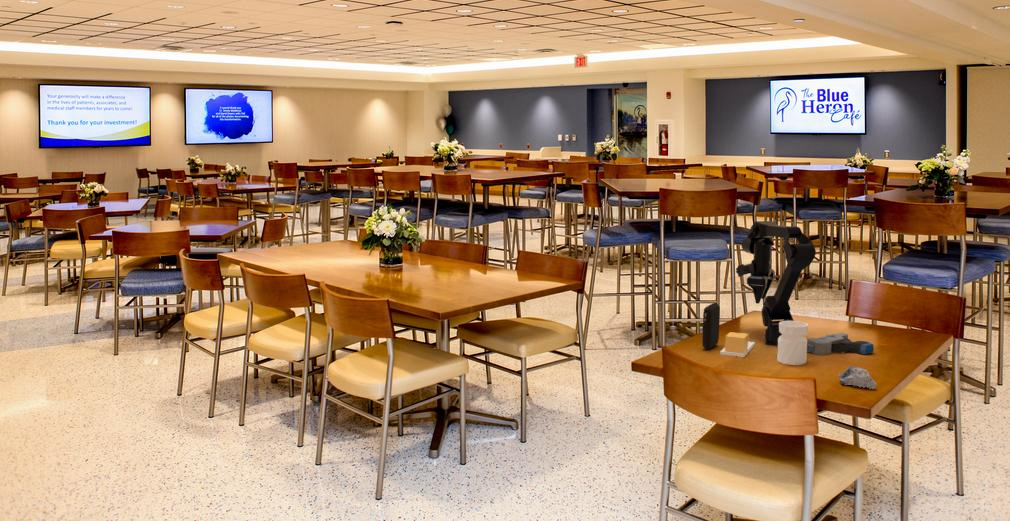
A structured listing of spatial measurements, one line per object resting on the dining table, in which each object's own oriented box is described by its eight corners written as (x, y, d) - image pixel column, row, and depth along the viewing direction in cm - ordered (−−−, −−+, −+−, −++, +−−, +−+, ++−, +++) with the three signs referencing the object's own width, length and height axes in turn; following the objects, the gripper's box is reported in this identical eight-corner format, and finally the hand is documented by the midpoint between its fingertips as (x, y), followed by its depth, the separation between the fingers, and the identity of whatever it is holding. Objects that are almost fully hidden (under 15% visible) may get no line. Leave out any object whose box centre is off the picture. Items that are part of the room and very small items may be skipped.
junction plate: (754, 345, 287) (755, 332, 286) (743, 357, 272) (744, 343, 271) (732, 342, 290) (732, 329, 290) (720, 354, 275) (720, 341, 275)
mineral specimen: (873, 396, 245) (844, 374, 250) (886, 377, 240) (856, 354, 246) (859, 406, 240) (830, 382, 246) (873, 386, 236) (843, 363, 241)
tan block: (747, 349, 278) (748, 334, 277) (743, 353, 273) (744, 338, 272) (729, 346, 281) (729, 332, 280) (724, 351, 276) (725, 336, 275)
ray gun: (878, 341, 276) (839, 331, 289) (841, 349, 266) (801, 339, 279) (878, 354, 277) (838, 344, 289) (840, 363, 267) (801, 352, 280)
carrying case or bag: (708, 352, 278) (709, 307, 276) (699, 350, 280) (700, 306, 278) (719, 345, 287) (721, 302, 285) (711, 343, 289) (712, 301, 286)
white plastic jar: (786, 365, 263) (787, 327, 261) (771, 358, 271) (773, 321, 269) (811, 364, 264) (814, 326, 262) (797, 356, 273) (799, 320, 271)
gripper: (744, 251, 309) (742, 294, 311) (732, 259, 292) (730, 303, 295) (776, 253, 303) (774, 296, 306) (766, 261, 287) (763, 306, 290)
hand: (760, 300), depth 299 cm, fingers open, 9 cm apart
